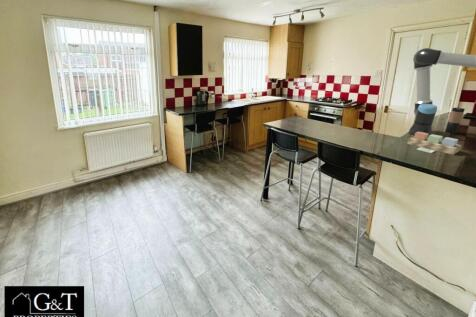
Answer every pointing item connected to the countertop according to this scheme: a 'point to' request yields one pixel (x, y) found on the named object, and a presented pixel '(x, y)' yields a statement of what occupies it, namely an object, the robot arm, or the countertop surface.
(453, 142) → the slate key
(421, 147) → the card
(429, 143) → the key panel
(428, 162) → the countertop surface
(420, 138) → the terracotta key
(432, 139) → the sage key
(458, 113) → the travel mug
